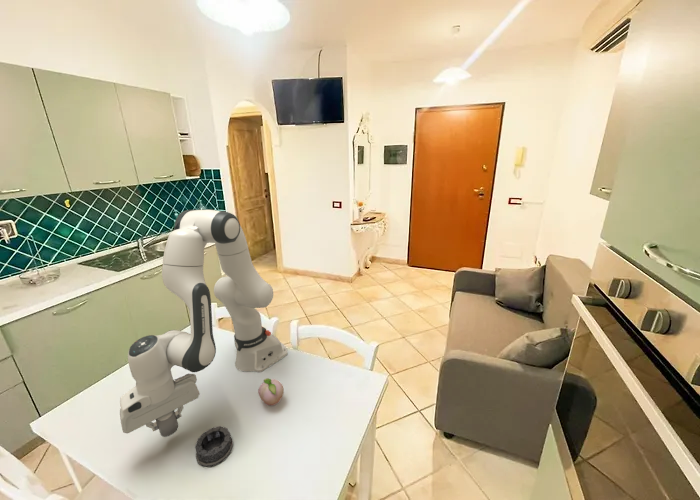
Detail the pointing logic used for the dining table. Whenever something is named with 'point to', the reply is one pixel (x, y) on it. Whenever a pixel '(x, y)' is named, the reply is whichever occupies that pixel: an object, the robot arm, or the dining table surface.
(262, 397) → the decorative fruit
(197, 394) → the robot arm
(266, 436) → the dining table surface
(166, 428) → the grey cylinder
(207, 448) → the faceted grey ring
